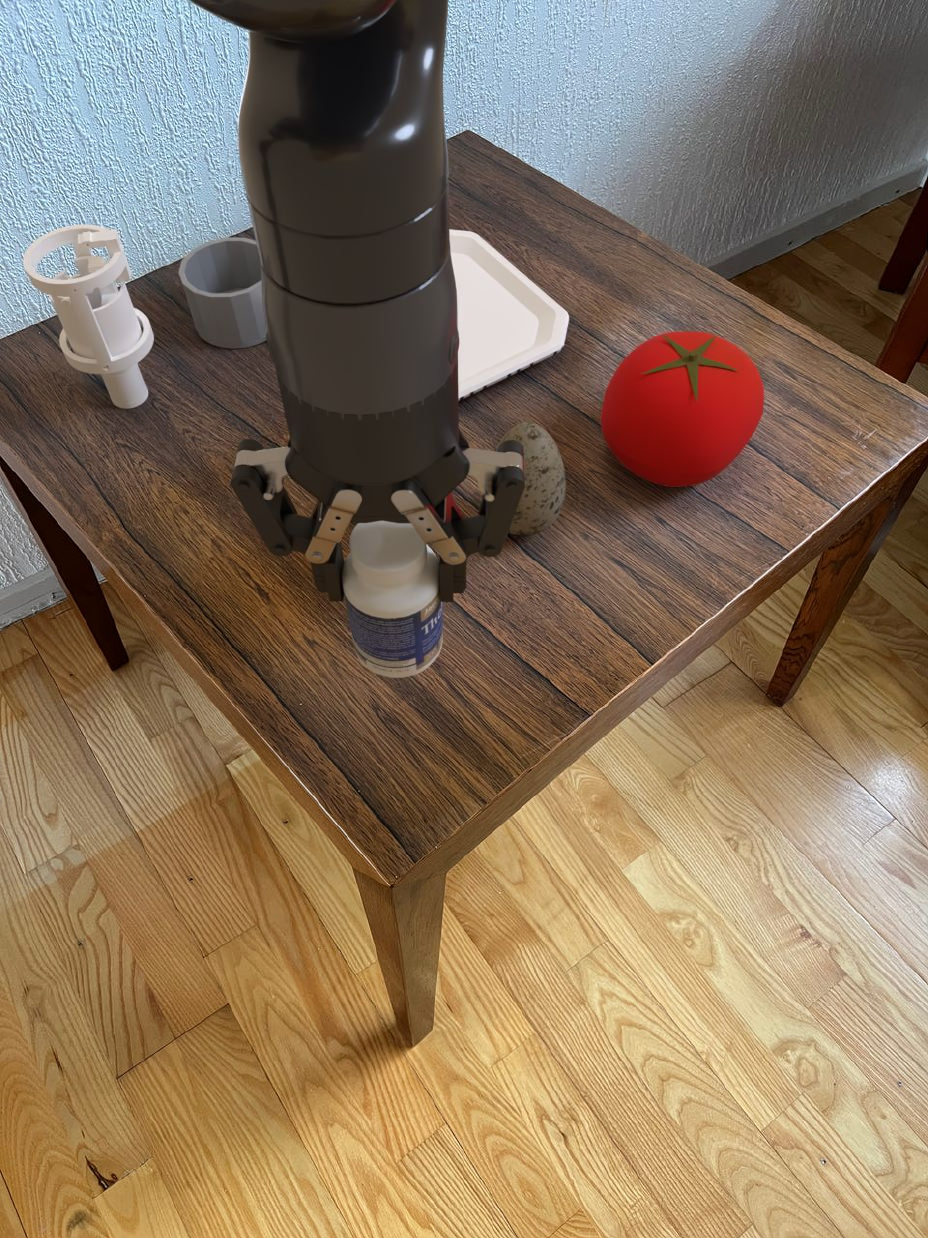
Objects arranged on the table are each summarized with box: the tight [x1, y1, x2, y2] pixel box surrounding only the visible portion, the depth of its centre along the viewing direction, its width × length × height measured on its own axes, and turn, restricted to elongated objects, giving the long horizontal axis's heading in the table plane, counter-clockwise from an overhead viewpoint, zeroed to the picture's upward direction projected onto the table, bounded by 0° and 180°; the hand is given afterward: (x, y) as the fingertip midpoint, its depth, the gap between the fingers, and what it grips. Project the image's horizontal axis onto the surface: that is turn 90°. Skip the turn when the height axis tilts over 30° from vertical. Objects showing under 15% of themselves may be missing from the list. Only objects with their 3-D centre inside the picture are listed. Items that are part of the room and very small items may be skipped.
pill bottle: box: [342, 521, 444, 679], centre depth 53 cm, size 5×5×10 cm
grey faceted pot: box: [178, 237, 267, 350], centre depth 85 cm, size 8×8×6 cm
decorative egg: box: [494, 422, 567, 537], centre depth 69 cm, size 6×6×10 cm
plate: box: [449, 228, 570, 402], centre depth 85 cm, size 21×21×2 cm
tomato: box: [600, 330, 765, 488], centre depth 72 cm, size 11×12×10 cm
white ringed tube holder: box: [22, 224, 155, 410], centre depth 75 cm, size 7×7×15 cm
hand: (392, 588), depth 53 cm, fingers closed on pill bottle, 5 cm apart
